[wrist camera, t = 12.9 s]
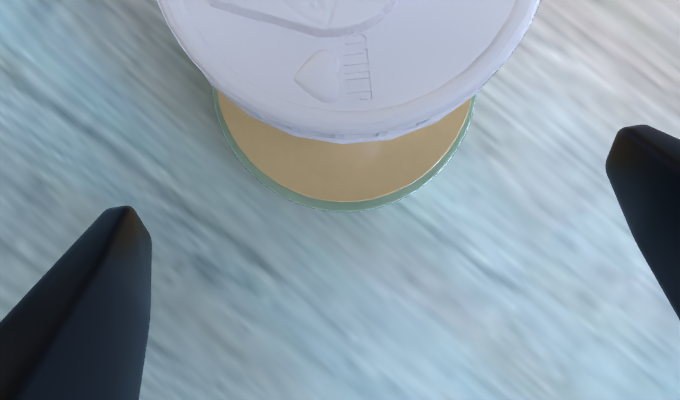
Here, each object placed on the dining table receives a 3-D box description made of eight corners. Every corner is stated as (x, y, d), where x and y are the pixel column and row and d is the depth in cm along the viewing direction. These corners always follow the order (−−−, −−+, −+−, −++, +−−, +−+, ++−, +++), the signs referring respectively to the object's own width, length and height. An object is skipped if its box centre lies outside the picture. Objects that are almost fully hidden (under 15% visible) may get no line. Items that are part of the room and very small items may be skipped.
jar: (452, 211, 21) (482, 217, 17) (228, 205, 21) (200, 210, 17) (459, -14, 21) (490, -68, 17) (233, -20, 21) (206, -76, 17)
